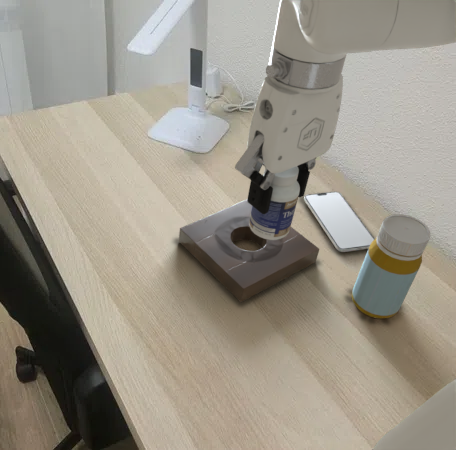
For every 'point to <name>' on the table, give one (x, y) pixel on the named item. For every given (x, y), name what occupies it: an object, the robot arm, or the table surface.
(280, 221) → the pill bottle
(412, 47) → the robot arm
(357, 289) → the bottle
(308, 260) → the socket board
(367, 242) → the smartphone
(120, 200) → the table surface
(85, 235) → the table surface
